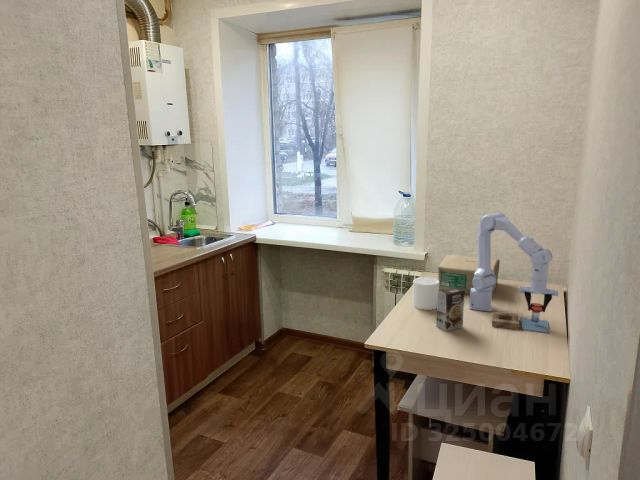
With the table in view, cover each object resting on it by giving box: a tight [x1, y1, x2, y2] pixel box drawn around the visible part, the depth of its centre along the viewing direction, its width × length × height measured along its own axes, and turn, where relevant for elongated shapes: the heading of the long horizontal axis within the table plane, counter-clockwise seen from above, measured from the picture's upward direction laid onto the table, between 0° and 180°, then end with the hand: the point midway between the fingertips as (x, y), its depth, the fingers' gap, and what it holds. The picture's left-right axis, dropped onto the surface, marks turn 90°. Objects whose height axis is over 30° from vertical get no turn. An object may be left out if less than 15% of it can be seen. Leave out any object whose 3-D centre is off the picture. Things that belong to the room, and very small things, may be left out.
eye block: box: [491, 311, 520, 330], centre depth 194 cm, size 10×10×2 cm
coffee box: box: [435, 287, 465, 332], centre depth 190 cm, size 9×6×16 cm
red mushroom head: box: [530, 302, 543, 323], centre depth 190 cm, size 5×5×7 cm
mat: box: [520, 317, 550, 334], centre depth 191 cm, size 10×12×1 cm
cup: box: [412, 276, 439, 311], centre depth 214 cm, size 12×12×12 cm
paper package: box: [437, 254, 500, 296], centre depth 237 cm, size 27×26×14 cm
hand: (536, 310), depth 189 cm, fingers closed on red mushroom head, 5 cm apart
